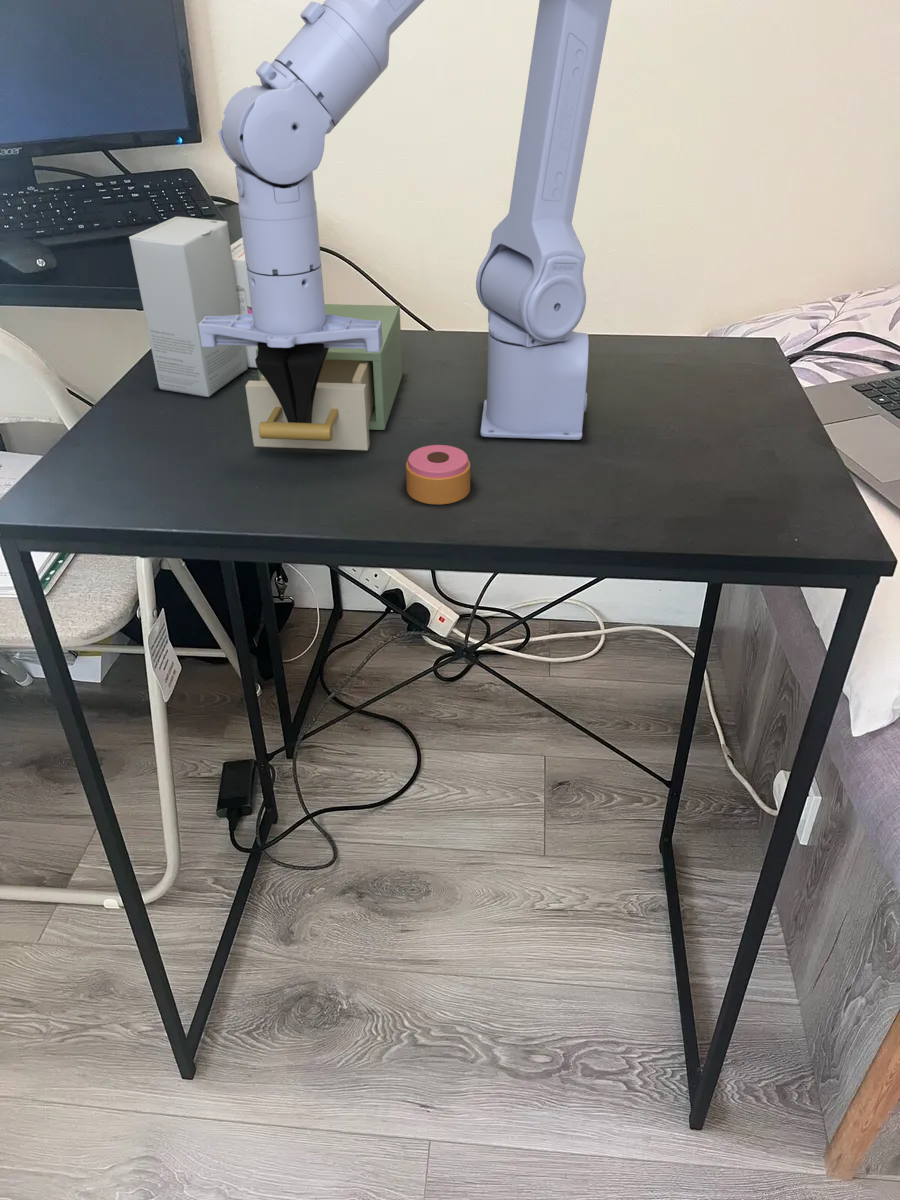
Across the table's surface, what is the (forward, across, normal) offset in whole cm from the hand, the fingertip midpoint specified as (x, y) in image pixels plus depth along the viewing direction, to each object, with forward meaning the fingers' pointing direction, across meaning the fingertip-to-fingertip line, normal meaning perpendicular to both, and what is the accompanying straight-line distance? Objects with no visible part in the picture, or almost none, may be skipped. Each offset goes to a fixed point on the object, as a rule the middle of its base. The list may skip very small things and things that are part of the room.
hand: (301, 428), depth 78 cm
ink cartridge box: (+4, -11, +27) cm, 30 cm away
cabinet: (+4, 0, +15) cm, 16 cm away
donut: (+4, +12, -3) cm, 13 cm away
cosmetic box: (+4, -15, +19) cm, 25 cm away
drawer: (+3, 0, +6) cm, 7 cm away
